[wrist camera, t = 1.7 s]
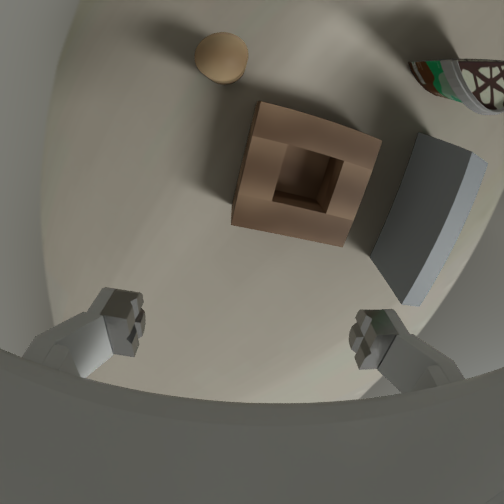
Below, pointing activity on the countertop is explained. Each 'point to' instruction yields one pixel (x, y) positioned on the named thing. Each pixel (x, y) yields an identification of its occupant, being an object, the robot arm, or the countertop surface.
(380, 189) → the countertop surface
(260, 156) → the block
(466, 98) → the green rounded container
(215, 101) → the countertop surface
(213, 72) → the dowel
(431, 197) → the wall
